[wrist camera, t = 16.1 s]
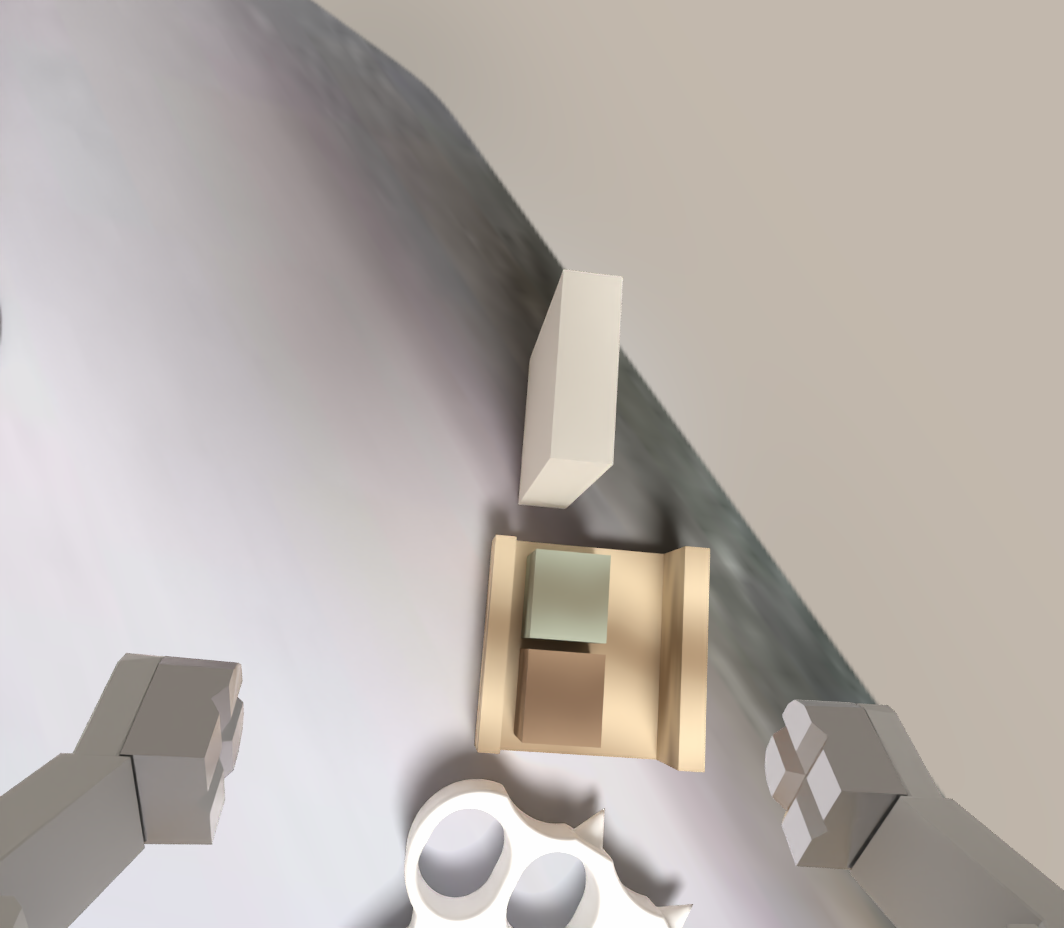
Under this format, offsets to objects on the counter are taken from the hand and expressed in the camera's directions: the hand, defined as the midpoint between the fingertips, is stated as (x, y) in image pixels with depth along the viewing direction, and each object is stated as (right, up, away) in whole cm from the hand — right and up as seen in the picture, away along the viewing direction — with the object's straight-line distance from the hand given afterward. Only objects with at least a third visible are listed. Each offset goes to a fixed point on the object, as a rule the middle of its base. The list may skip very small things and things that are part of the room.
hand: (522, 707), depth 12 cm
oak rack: (+3, -6, +29) cm, 30 cm away
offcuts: (+1, -5, +28) cm, 28 cm away
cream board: (+1, +5, +31) cm, 31 cm away
